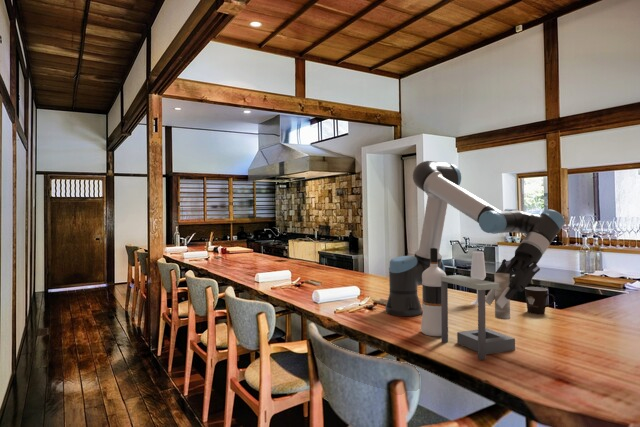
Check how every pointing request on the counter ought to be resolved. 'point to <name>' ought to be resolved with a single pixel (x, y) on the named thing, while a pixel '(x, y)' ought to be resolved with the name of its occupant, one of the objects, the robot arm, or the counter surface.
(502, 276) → the peg
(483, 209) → the robot arm
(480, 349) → the small grey bench
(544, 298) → the coffee mug
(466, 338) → the socket block
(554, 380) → the counter surface
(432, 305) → the vodka
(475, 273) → the champagne flute
